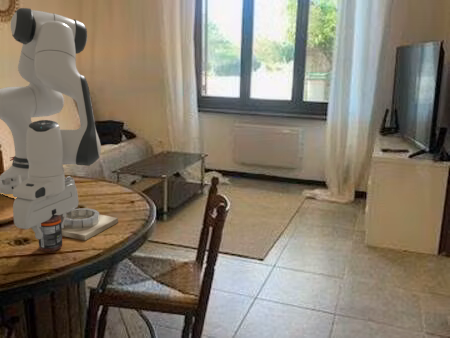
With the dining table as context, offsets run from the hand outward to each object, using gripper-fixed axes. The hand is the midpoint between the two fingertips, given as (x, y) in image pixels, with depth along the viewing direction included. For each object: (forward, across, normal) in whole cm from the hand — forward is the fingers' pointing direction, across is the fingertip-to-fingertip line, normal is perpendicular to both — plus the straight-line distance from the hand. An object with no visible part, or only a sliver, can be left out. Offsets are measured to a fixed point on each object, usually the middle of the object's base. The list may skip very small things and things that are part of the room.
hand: (50, 233), depth 122 cm
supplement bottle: (+4, 0, 0) cm, 4 cm away
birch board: (+4, -16, -3) cm, 17 cm away
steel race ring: (+3, -16, -3) cm, 16 cm away
